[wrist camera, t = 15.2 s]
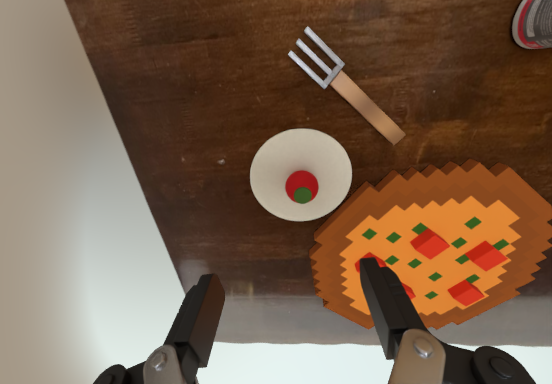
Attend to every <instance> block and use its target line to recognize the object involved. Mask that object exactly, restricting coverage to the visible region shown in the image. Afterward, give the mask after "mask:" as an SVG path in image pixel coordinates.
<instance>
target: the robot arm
mask: <svg viewBox="0 0 552 384" xmlns="http://www.w3.org/2000/svg"><path fill="white" fill-rule="evenodd" d="M360 282H361V287H362V290H363V293H364V296H365V299H366V302H367V305H368V307H369V310H370V313H371V316H372V319H373V322H374V325H375V328H376V331H377V333H378V336H379V339H380V342H381V345H382V348H383V351H384V354H385V357H386V359H387V360H391V359H394V365H393V369H392V372H391V375H390V378H389V381H388V384H536V383H535V381H534V380H533V379H532V377H531V376H530V375H529V373H528V372H527V371H526V369H525V368H524V367H523V366H522V365H521V364H520V363H519V362H518V361H517V360H516V359H515V358H514V357H512V356H511V355H509V354H508V353H506V352H505V351H502V350H500V349H498V348H495V347H491V346H482V347H479V348H477V349H476V350H475V352H474V351H470V350H467V349H462V348H458V347H455V346H451V345H448V344H446V343H444V342H442V341H440V340H439V339H437V338H436V337H434V336H433V335H432V334H431V333H430V332H429V331H428V330H427V328H426V327H425V325H424V323H423V322H422V320H421V318H420V316H419V314H418V312H417V311H416V309H415V307H414V305H413V303H412V301H411V299H410V298H409V296H408V294H407V293H406V290H405V288H404V287H403V286H402V283H401V281H400V279H399V277H398V276H397V274H396V273H395V272H394V271H393V270H391V269H390V268H389V267H388V266H387V267H380V266H379V264H378V262H377V260H376V258H375V257H368V258H360ZM224 301H225V292H224V289H223V287H222V285H221V283H220V281H219V278H218V276H217V275H216V274H206V275H202V276H201V277H200V279H199V282H198V284H197V285H194V286H193V287H192V288H191V289H190V290H189V291H188V293H187V294H186V296H185V298H184V300H183V302H182V305H181V307H180V309H179V313H177V316H176V318H175V320H174V322H173V325H172V327H171V329H170V331H169V333H168V336H167V338H166V340H165V342H164V344H163V346H161V347H159V348H157V349H156V350H155V351H154V352H153V353H152V354H151V355H150V356H149V357H148V359H147V360H146V361H144V362H142V363H140V364H137V365H135V366H133V367H131V368H128V369H126V368H125V367H124V366H122V365H120V364H117V365H113V366H111V367H109V368H108V369H106V370H105V371H104V372H103V373H101V374H100V375H99V377H98V378H97V379H96V380H95V382H94V383H93V384H199V383H198V380H197V377H196V374H197V370H198V368H203V367H207V364H208V360H209V356H210V353H211V349H212V346H213V342H214V338H215V335H216V331H217V327H218V324H219V320H220V316H221V312H222V309H223V305H224Z"/></svg>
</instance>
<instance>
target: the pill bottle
mask: <svg viewBox="0 0 552 384" xmlns="http://www.w3.org/2000/svg"><path fill="white" fill-rule="evenodd" d="M512 33H513V37H514V40H515V41H516V43H517V44H518V45H520V46H521V47H524V48H528V49H538V48H549V47H552V0H523V1H522V3H521V4H520V6H519V8H518V10H517V12H516V14H515V16H514V19H513V24H512Z"/></svg>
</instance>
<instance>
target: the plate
mask: <svg viewBox="0 0 552 384" xmlns="http://www.w3.org/2000/svg"><path fill="white" fill-rule="evenodd" d="M300 170H304V171H308V172H310V173H312V174H313V175H314V176H315V177H316V179H317V181H318V185H319V189H318V193H317V195H316V197H315V198H314V199H313V200H312V201H310V202H308V203H305V204H300V203H296V202H294V201H292V200H291V199H290V198H289V197H288V195H287V193H286V190H285V184H286V181H287V179H288V177H289V176H290V175H291V174H292V173H294V172H296V171H300ZM351 180H352V167H351V163H350V160H349V157H348V155H347V153H346V151H345V150H344V148H343V147H342V146H341V145H340V144H339V143H338V142H337V141H336V140H335V139H334V138H332V137H331V136H329V135H328V134H326V133H324V132H321V131H318V130H314V129H308V128H296V129H290V130H286V131H283V132H281V133H279V134H276V135H275V136H273V137H272V138H270V139H269V140H268V141H266V142H265V143H264V144H263V145H262V146H261V148H260V149H259V150H258V152H257V153H256V155H255V157H254V159H253V162H252V165H251V170H250V182H251V187H252V190H253V193H254V195H255V197H256V198H257V200H258V201H259V203H260V204H261V205H262V206H263V207H264V208H265V209H266V210H268V211H269V212H270V213H272V214H274V215H275V216H278V217H280V218H283V219H286V220H291V221H308V220H313V219H317V218H320V217H322V216H324V215H326V214H328V213H330V212H331V211H332V210H334V209H335V208H336V207H337V206H338V205H339V204H340V203H341V202H342V201H343V199H344V198H345V196H346V195H347V193H348V190H349V188H350V185H351Z"/></svg>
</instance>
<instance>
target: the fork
mask: <svg viewBox="0 0 552 384" xmlns="http://www.w3.org/2000/svg"><path fill="white" fill-rule="evenodd" d="M304 33H305V34H306V35H307V36H308V37H309V38H310V39H311V40H312V41H313V42H314V43H315V44H316V45H317V46H318V47H319V48H320V49H321V50H322V51H323V52H324V53H325V54H326V55H327V56H328V57H329V58H330V59H331V60H332V61H333V62H334V63H335V64H336V66H335V67H334V68H333V69H332V70H331V69H330V68H329V67H328V66H327V65H326V64H325V63H324V62H323V61H322V60H321V59H320V58H319V57H318V56H317V55H316V54H314V53H313V52H312V51H311V50H310V49H309V48H308V47H307V46H306V45H305V44H304V43H303V42H302V41H301V40H300V39H298V40H297V42H296V45H297V46H298V47H299V48H300V49H301V50H302V51H303V52H304V53H305V54H306V55H308V56H309V57H310V58H311V59H312V60H313V61H314V62H315V63H316V64H317V65H318V66H319V67H320V68H321V69H322V70H323V71H324V72H325V73H326V74H327V75H328V76H327V77H326V78H325V79H324V81H323V80H322V79H321V78H320V77H319V76H318V75H317V74H316V73H314V72H313V71H312V70H311V69H310V68H309V67H308V66H307V65H306V64H305V63H304V62H303V61H302V60H301V59H300V58H299V57H298V56H297V55H296V54H295V53H293V52H292V51H290V52H289V53H288V56H289V57H290V58H291V59H292V60H293V61H294V62H295V63H297V64H298V65H299V66H300V67H301V68H302V69H303V70H304V71H305V72H306V73H307V74H308V75H309V76H310V77H311V78H313V79H314V80H315V81H316V82H317V83H318V84H319V85H320V86H321V87H322V88H323V89H325V88H326V87H327V86H328V85H330V86H331V87H332V88H333V89H334V90H335V91H336V92H337V93H338V94H339V95H340V96H342V97H343V98H344V99H345V100H346V101H347V102H348V103H349V104H350V105H351V106H352V107H353V108H354V109H355V110H356V111H357V112H358V113H359V114H360V115H361V116H362V117H364V118H365V119H366V120H367V121H368V122H369V123H370V124H371V125H372V126H373V127H374V128H375V129H376V130H377V131H378V132H379V133H380V134H381V135H382V136H383V137H385V138H386V139H387V140H388V141H389V142H390V143H391V144H393V145H395V144H396V143H397V142H398V141H400V140H401V139H402V138H403V137H404V136H405V135H406V134H405V133H404V132H403V131H402V130H401V129H400V128H399V127H398V126H397V125H396V124H395V123H394V122H393V121H392V120H391V119H390V118H389V117H388V116H387V115H386V114H385V113H384V112H383V111H382V110H381V109H380V108H379V107H378V106H377V105H376V104H375V103H374V102H373V101H372V100H371V99H370V98H369V97H368V96H367V95H366V94H365V93H364V92H363V91H362V90H361V89H360V88H359V87H358V86H357V85H356V84H355V83H354V82H353V81H352V80H351V79H350V78H349V77H348V76H347V75H346V74H345V73H344V72H343V71H342V70H341V69H342V67H343V66H344V65H345V63H344V62H343V61H342V60H341V59H340V58H339V57H338V56H337V55H336V54H335V53H334V52H333V51H332V50H331V49H330V48H329V47H328V46H327V45H326V44H325V43H324V42H323V41H322V40H321V39H320V38H319V37H318V36H317V35H316V34H315V33H314V32H313V31H312V30H311V29H310V28H309V27H308V26H307V27H306V29H305V30H304Z"/></svg>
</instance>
